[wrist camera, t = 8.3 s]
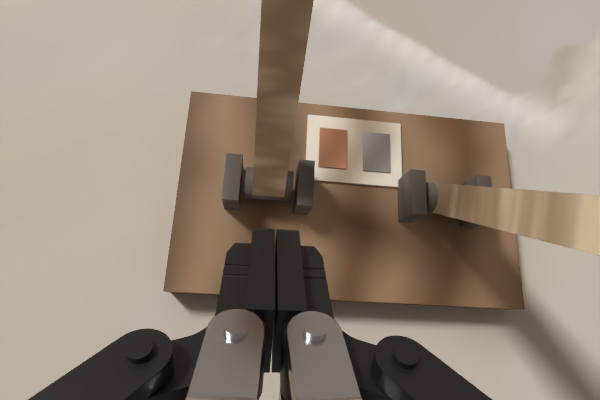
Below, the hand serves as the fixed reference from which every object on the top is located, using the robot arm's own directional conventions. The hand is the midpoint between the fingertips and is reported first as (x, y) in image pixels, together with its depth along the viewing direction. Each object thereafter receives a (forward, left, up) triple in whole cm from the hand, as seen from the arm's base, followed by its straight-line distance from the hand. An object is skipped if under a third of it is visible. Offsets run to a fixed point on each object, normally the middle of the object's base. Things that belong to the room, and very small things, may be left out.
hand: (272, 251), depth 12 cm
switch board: (+6, +6, -15) cm, 17 cm away
